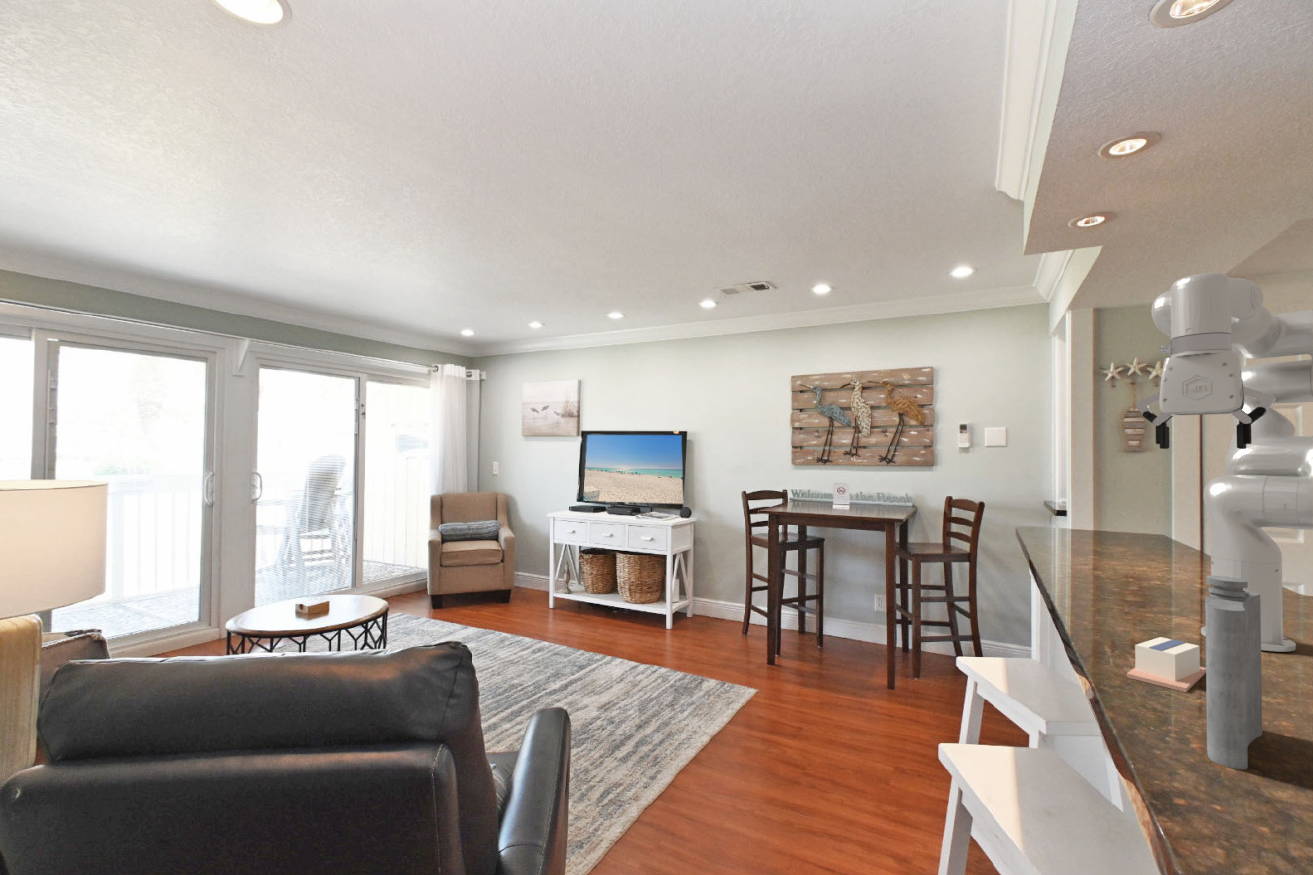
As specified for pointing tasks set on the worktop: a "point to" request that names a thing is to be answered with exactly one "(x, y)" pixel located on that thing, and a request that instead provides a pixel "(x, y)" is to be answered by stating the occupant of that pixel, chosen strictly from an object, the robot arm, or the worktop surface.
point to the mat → (1179, 685)
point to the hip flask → (1232, 670)
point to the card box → (1167, 658)
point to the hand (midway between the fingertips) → (1201, 448)
